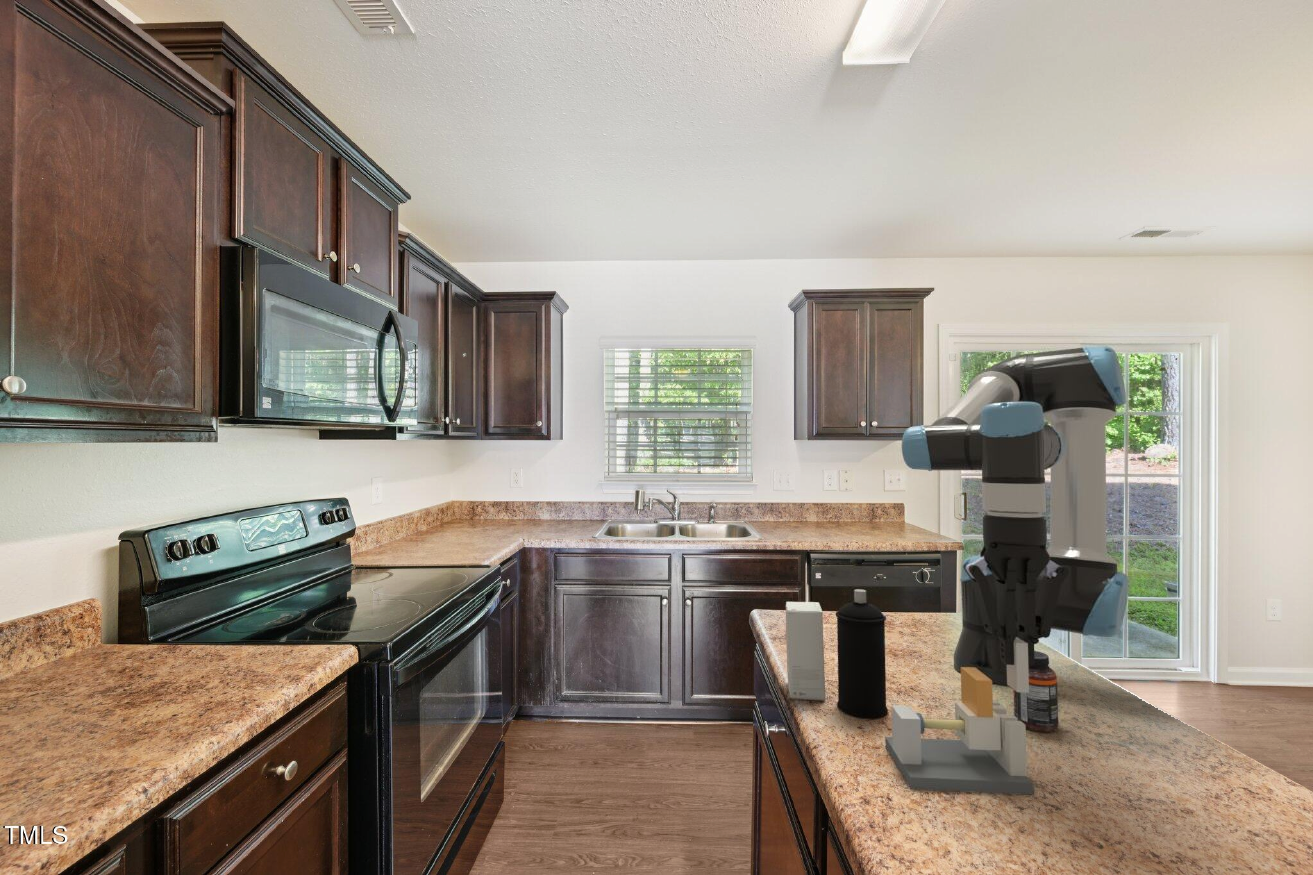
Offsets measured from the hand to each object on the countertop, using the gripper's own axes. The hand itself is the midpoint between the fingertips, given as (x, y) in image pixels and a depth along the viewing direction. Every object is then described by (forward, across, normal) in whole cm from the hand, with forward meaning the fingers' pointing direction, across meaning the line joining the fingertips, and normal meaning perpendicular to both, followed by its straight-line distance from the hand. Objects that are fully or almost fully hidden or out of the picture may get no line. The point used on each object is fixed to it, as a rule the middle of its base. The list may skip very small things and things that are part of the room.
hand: (1017, 688), depth 79 cm
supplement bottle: (+11, -10, -15) cm, 22 cm away
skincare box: (+11, +24, -26) cm, 38 cm away
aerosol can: (+11, +16, -19) cm, 27 cm away
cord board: (+11, +8, 0) cm, 14 cm away
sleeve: (+8, +5, 0) cm, 9 cm away
